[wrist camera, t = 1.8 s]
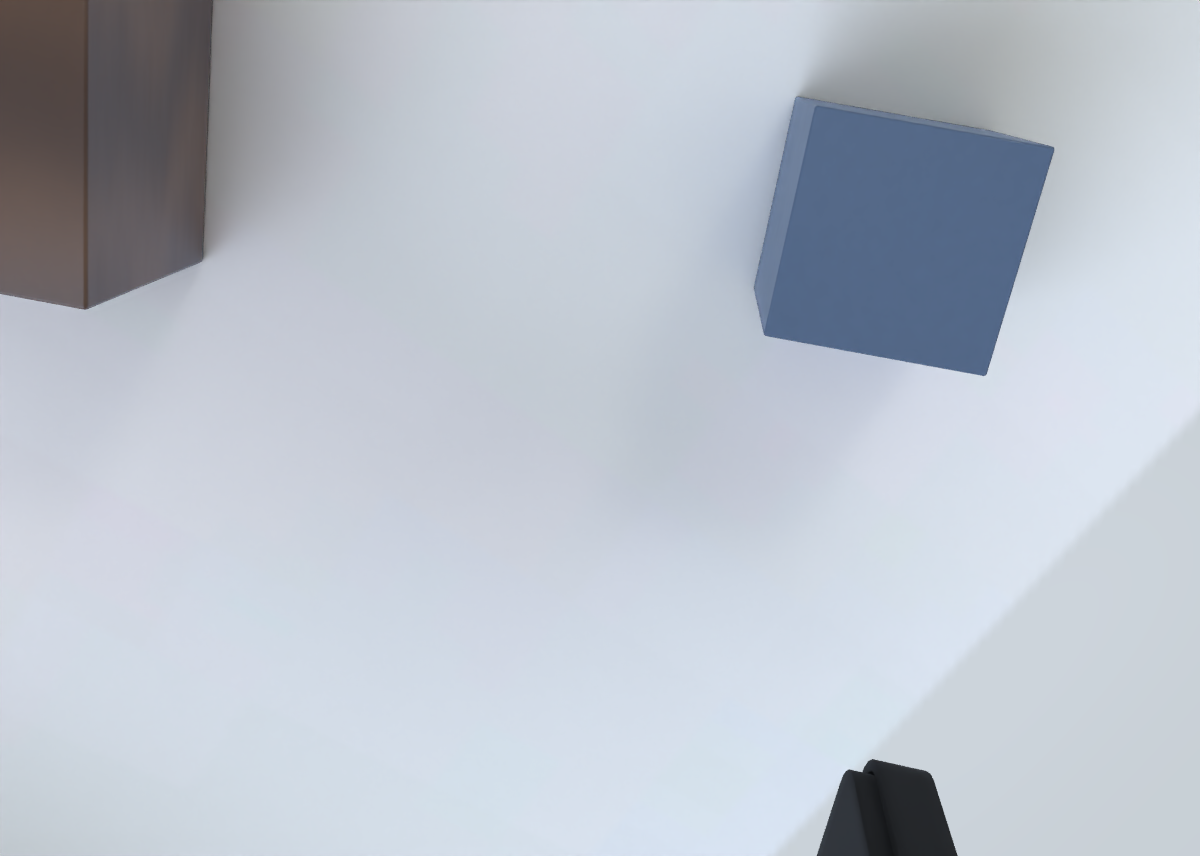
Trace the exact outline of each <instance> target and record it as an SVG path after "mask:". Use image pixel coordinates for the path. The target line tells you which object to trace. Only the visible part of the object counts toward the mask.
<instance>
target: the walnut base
mask: <svg viewBox="0 0 1200 856" xmlns="http://www.w3.org/2000/svg"><path fill="white" fill-rule="evenodd" d="M211 21H212V0H0V294H4V295H9V296H15V297H20V298H25V299H31V300H36V301H42V302H47V303H52V304H58V305H63V306H68V307H74V308H79V309H84V310H85V309H89V308H91V307H93V306H96V305H98V304H101V303H103V302H105V301H108V300H110V299H113V298H115V297H118V296H120V295H122V294H125V293H127V292H130V291H132V290H134V289H137V288H139V287H142V286H144V285H147V284H149V283H151V282H154V281H156V280H159V279H161V278H164V277H166V276H168V275H171V274H173V273H176V272H178V271H180V270H183V269H185V268H188V267H190V266H193V265H195V264H197V263H200V262H202V258H203V231H204V205H205V179H206V152H207V126H208V100H209V73H210V47H211Z"/></svg>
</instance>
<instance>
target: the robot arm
mask: <svg viewBox="0 0 1200 856" xmlns="http://www.w3.org/2000/svg"><path fill="white" fill-rule="evenodd" d="M817 856H957V853H956V850H955V846H954V843H953V840H952V837H951V834H950V831H949V827H948V824H947V821H946V818H945V815H944V812H943V808H942V805H941V802H940V799H939V796H938V793H937V789H936V786H935V783H934V780H933V778H932V776H931V774H930V773H928V772H927V771H923V770H919V769H914V768H909V767H905V766H901V765H896V764H892V763H887V762H883V761H878V760H874V759H872V760H870V761H868V763H867V764H866V766H865V767H864V769H863V772H858V771H853V770H847V771H846V772H845V774H844V775H843V777H842V780H841V783H840V786H839V789H838V792H837V795H836V798H835V801H834V804H833V807H832V810H831V814H830V817H829V820H828V823H827V826H826V829H825V832H824V835H823V838H822V842H821V844H820V848H819V851H818V854H817Z"/></svg>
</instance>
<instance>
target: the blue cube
mask: <svg viewBox="0 0 1200 856" xmlns="http://www.w3.org/2000/svg"><path fill="white" fill-rule="evenodd" d="M1053 153H1054V148H1053V147H1051V146H1048V145H1044V144H1040V143H1036V142H1032V141H1029V140H1025V139H1021V138H1017V137H1013V136H1009V135H1006V134H1002V133H998V132H994V131H990V130H984V129H978V128H973V127H967V126H961V125H956V124H950V123H944V122H939V121H933V120H927V119H922V118H916V117H910V116H905V115H899V114H893V113H888V112H882V111H876V110H871V109H865V108H860V107H854V106H848V105H843V104H837V103H831V102H826V101H820V100H814V99H809V98H803V97H796V98H795V102H794V106H793V111H792V115H791V120H790V125H789V129H788V134H787V138H786V143H785V148H784V152H783V157H782V161H781V166H780V170H779V175H778V180H777V184H776V189H775V193H774V198H773V203H772V207H771V212H770V216H769V221H768V226H767V230H766V235H765V239H764V244H763V248H762V253H761V258H760V262H759V267H758V271H757V276H756V281H755V285H754V291H755V296H756V300H757V305H758V309H759V314H760V318H761V323H762V327H763V332H764V335H765V336H769V337H775V338H780V339H785V340H791V341H796V342H802V343H807V344H813V345H818V346H824V347H829V348H834V349H840V350H845V351H851V352H856V353H862V354H867V355H873V356H878V357H883V358H889V359H894V360H900V361H905V362H911V363H916V364H922V365H927V366H933V367H938V368H943V369H949V370H954V371H960V372H965V373H971V374H976V375H982V376H985V375H986V374H987V371H988V368H989V364H990V361H991V358H992V354H993V351H994V348H995V344H996V341H997V338H998V334H999V331H1000V328H1001V325H1002V321H1003V318H1004V315H1005V311H1006V308H1007V305H1008V301H1009V298H1010V295H1011V291H1012V288H1013V285H1014V282H1015V278H1016V275H1017V272H1018V268H1019V265H1020V262H1021V258H1022V255H1023V252H1024V248H1025V245H1026V242H1027V239H1028V235H1029V232H1030V229H1031V225H1032V222H1033V219H1034V215H1035V212H1036V209H1037V205H1038V202H1039V199H1040V196H1041V192H1042V189H1043V186H1044V182H1045V179H1046V176H1047V172H1048V169H1049V166H1050V162H1051V159H1052V156H1053Z"/></svg>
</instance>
